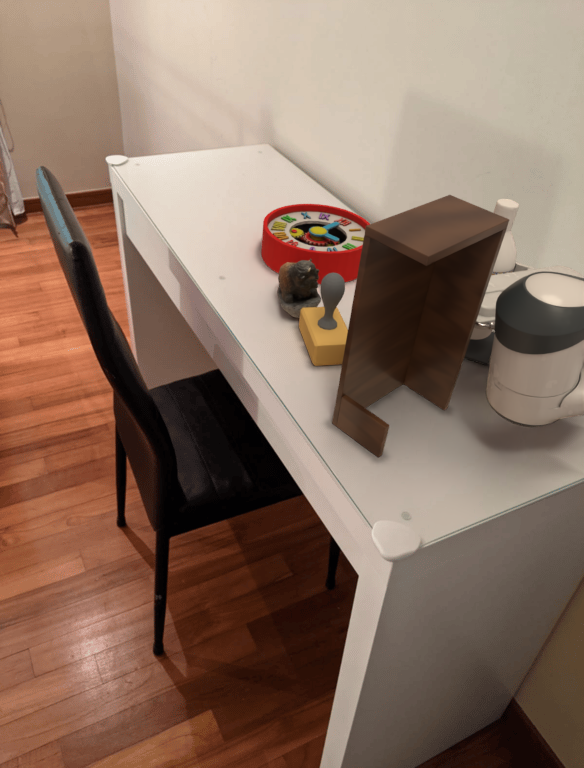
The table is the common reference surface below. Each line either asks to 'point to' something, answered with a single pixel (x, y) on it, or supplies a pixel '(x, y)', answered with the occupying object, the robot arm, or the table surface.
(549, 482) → the table surface
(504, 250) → the bath foam
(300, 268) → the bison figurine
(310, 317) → the rubber stamp
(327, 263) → the toy clock
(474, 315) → the cabinet
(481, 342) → the pad
